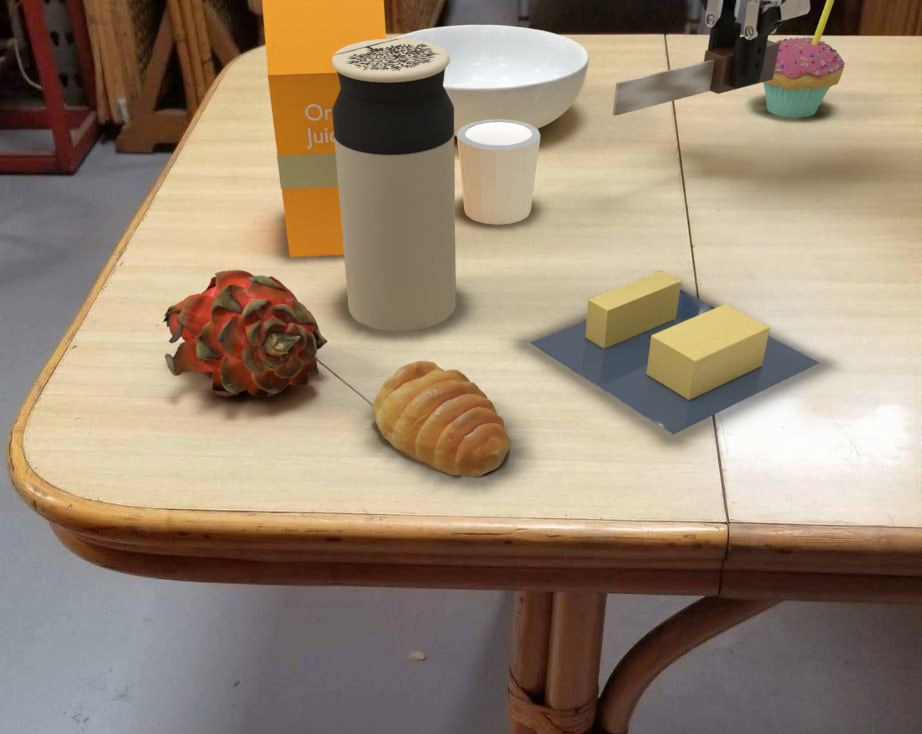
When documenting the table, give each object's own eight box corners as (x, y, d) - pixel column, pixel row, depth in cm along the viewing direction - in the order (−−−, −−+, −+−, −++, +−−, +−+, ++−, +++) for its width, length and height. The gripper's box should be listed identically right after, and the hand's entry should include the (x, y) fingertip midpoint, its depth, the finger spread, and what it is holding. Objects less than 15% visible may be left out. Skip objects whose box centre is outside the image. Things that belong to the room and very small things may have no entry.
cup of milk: (521, 193, 95) (523, 113, 91) (549, 225, 90) (553, 142, 86) (447, 204, 94) (446, 123, 89) (471, 236, 89) (471, 152, 84)
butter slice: (656, 308, 78) (661, 270, 76) (676, 318, 77) (681, 280, 75) (584, 337, 75) (587, 299, 73) (604, 349, 74) (607, 310, 72)
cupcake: (839, 105, 112) (867, -22, 104) (824, 133, 106) (853, 1, 98) (757, 94, 114) (778, -30, 106) (738, 121, 108) (759, -9, 101)
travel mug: (476, 318, 79) (477, 61, 67) (381, 349, 75) (365, 84, 64) (421, 276, 84) (413, 29, 72) (330, 302, 80) (306, 49, 69)
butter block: (718, 342, 75) (725, 303, 73) (762, 366, 72) (770, 326, 70) (645, 374, 72) (650, 335, 70) (689, 400, 69) (695, 360, 67)
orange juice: (292, 221, 91) (261, -40, 78) (395, 216, 92) (382, -44, 79) (289, 262, 86) (255, -12, 72) (399, 257, 86) (386, -16, 73)
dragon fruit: (327, 436, 70) (192, 410, 76) (370, 320, 72) (234, 303, 77) (254, 380, 63) (110, 355, 68) (304, 252, 64) (158, 238, 70)
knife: (754, 73, 95) (760, 37, 93) (773, 80, 94) (780, 43, 92) (604, 111, 87) (608, 72, 85) (623, 119, 85) (627, 80, 83)
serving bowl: (627, 132, 106) (634, 59, 102) (454, 181, 97) (453, 104, 93) (503, 76, 119) (504, 10, 115) (340, 116, 110) (334, 45, 106)
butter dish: (671, 291, 81) (672, 284, 81) (817, 369, 73) (819, 362, 73) (529, 349, 75) (529, 342, 75) (671, 442, 67) (672, 434, 66)
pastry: (537, 458, 66) (539, 406, 63) (450, 501, 63) (449, 449, 60) (444, 392, 71) (443, 342, 69) (360, 430, 68) (355, 378, 66)
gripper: (893, -167, 77) (834, 97, 89) (727, -192, 86) (694, 48, 99) (825, -156, 74) (773, 116, 86) (660, -184, 83) (635, 64, 95)
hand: (731, 78), depth 92 cm, fingers closed on knife, 2 cm apart
